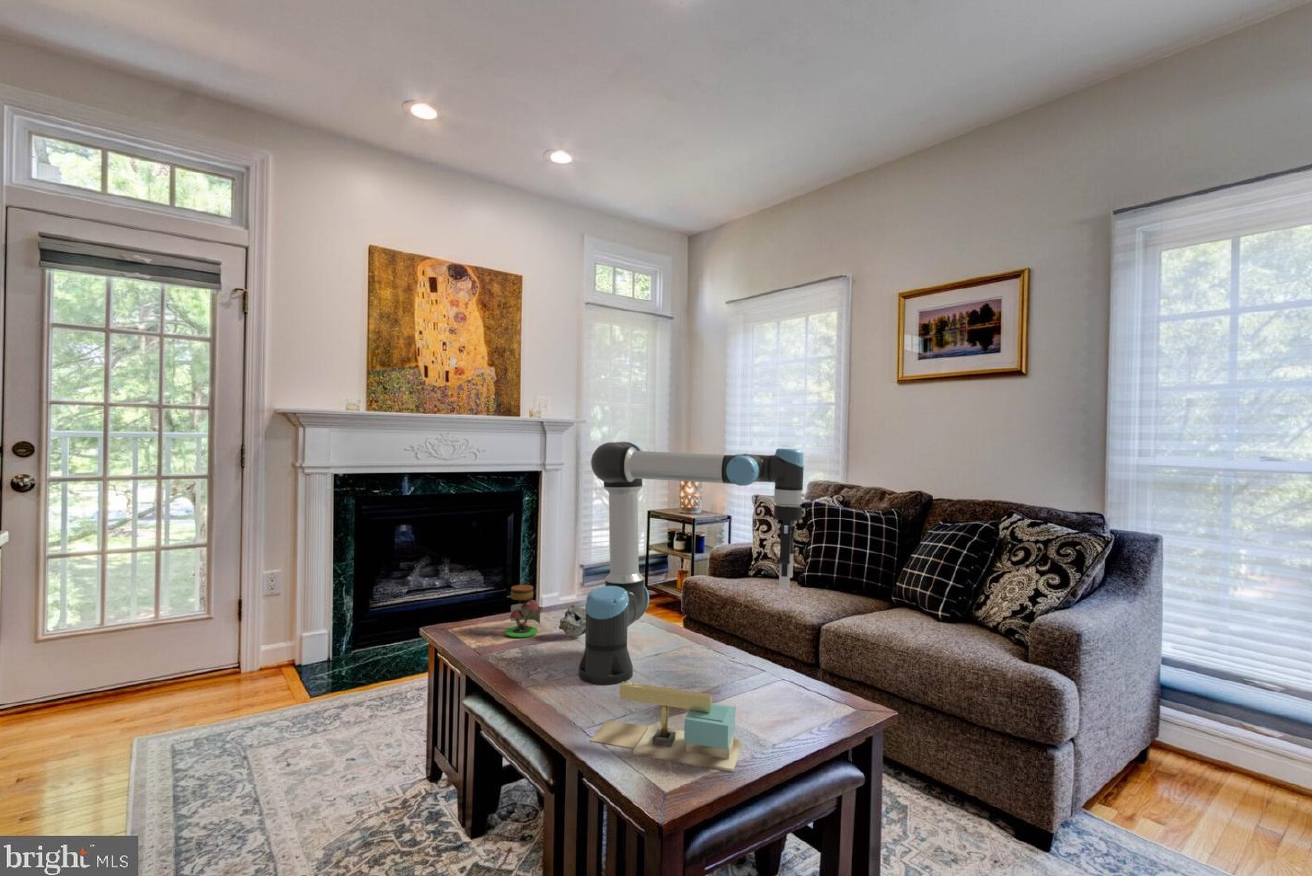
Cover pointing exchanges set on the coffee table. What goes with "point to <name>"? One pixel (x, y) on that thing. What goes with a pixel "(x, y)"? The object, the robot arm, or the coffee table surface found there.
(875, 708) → the coffee table surface
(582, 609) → the mineral specimen
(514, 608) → the mushroom figurine
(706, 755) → the housing
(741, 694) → the coffee table surface
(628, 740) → the pad
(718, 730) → the cover
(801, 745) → the coffee table surface
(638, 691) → the t key
